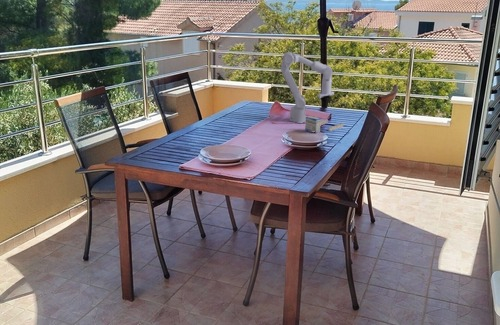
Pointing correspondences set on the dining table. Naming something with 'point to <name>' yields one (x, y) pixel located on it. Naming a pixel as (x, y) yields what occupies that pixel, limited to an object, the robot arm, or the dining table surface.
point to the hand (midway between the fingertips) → (325, 107)
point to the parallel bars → (332, 126)
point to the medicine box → (312, 124)
